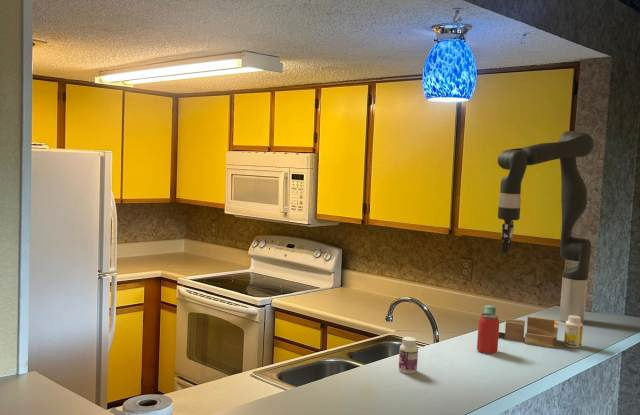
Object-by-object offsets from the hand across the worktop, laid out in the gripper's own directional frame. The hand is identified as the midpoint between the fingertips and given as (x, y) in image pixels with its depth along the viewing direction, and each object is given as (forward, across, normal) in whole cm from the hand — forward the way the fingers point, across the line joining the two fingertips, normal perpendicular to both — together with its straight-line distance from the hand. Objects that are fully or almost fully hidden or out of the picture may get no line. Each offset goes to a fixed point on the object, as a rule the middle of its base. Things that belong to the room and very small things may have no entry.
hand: (506, 251), depth 227 cm
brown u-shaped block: (+30, -5, -14) cm, 33 cm away
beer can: (+30, -26, +2) cm, 40 cm away
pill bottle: (+30, -57, +21) cm, 68 cm away
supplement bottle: (+30, -5, -24) cm, 39 cm away
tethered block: (+30, -5, -1) cm, 30 cm away
